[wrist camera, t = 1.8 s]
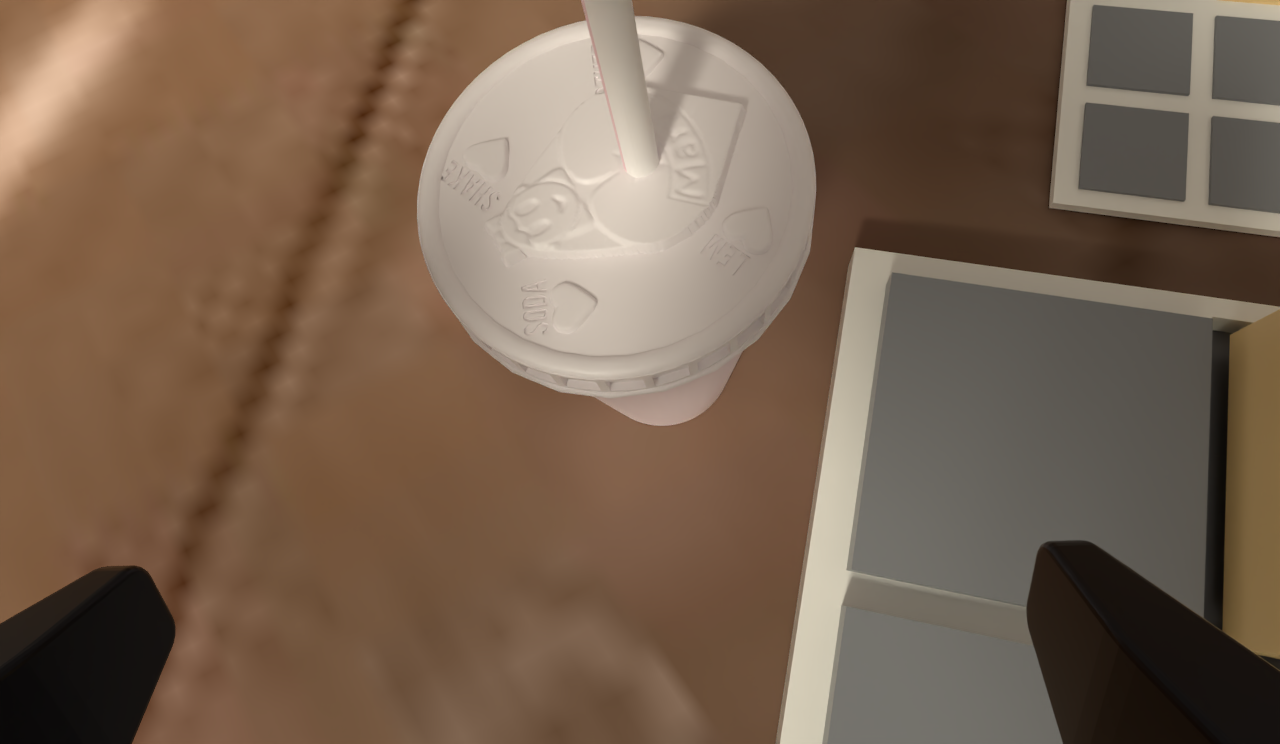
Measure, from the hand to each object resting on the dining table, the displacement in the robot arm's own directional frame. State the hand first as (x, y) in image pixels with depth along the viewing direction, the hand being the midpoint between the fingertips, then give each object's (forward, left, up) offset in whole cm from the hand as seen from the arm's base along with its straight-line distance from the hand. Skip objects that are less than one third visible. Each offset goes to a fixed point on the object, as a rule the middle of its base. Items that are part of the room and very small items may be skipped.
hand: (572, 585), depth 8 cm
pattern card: (+17, -12, -12) cm, 24 cm away
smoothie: (+6, +1, -13) cm, 14 cm away
